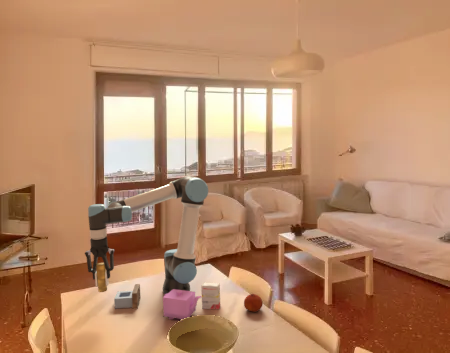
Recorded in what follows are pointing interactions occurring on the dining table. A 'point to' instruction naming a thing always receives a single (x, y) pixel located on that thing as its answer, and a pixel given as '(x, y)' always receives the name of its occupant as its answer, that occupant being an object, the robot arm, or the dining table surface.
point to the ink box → (210, 295)
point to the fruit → (253, 302)
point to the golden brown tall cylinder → (101, 277)
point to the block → (123, 299)
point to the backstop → (136, 296)
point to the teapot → (179, 304)
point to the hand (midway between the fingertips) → (102, 285)
